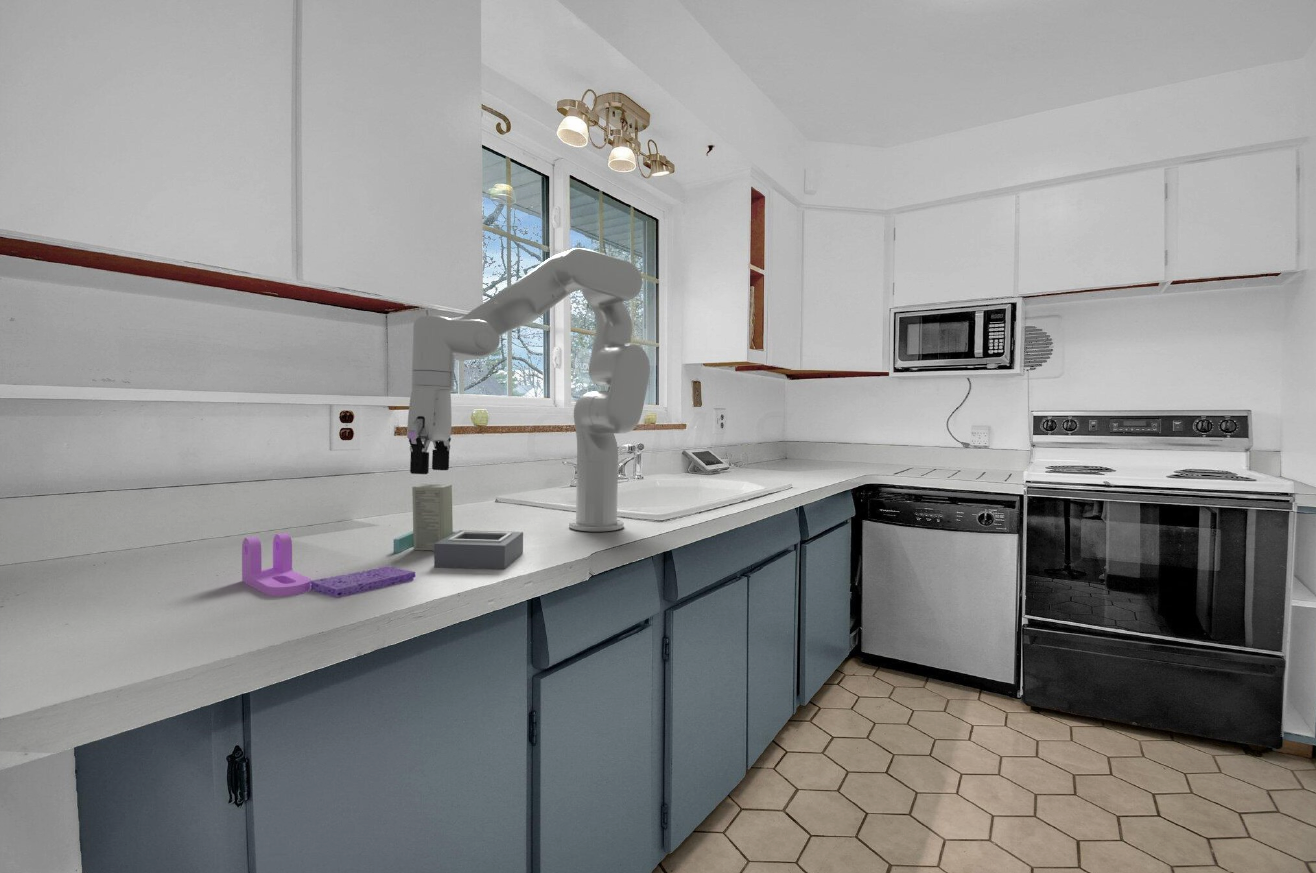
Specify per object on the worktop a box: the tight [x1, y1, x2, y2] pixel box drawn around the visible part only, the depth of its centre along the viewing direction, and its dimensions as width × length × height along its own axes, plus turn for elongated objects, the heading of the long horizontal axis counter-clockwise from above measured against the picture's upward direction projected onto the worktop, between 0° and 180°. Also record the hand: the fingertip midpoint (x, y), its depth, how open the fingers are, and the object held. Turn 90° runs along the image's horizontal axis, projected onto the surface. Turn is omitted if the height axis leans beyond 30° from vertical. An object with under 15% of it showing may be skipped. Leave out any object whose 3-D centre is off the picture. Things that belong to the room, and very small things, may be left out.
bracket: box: [241, 532, 312, 597], centre depth 90 cm, size 13×6×7 cm, turn 51°
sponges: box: [310, 565, 416, 599], centre depth 92 cm, size 7×13×2 cm, turn 146°
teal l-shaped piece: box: [393, 530, 459, 554], centre depth 117 cm, size 9×11×2 cm
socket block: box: [433, 529, 524, 570], centre depth 109 cm, size 12×12×4 cm
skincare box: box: [411, 483, 454, 551], centre depth 117 cm, size 6×4×12 cm
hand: (430, 471), depth 116 cm, fingers open, 9 cm apart
